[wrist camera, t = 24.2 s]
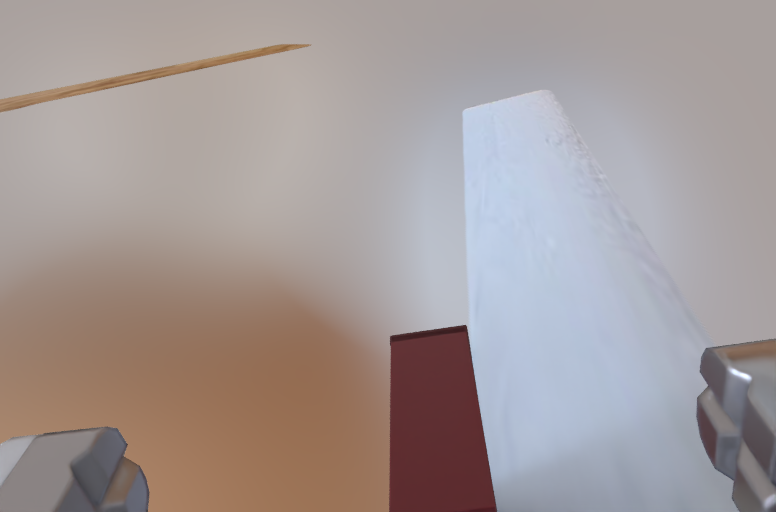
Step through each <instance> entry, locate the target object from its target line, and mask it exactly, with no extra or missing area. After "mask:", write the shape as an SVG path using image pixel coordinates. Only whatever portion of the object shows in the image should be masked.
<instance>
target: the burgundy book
mask: <svg viewBox="0 0 776 512" xmlns="http://www.w3.org/2000/svg"><path fill="white" fill-rule="evenodd" d="M390 346H391V389H390V390H391V392H390V398H391V399H390V498H389V500H390V501H389V506H390V507H389V510H390V511H389V512H497V509H496V502H495V497H494V491H493V485H492V479H491V473H490V467H489V461H488V455H487V449H486V443H485V437H484V431H483V425H482V419H481V413H480V407H479V402H478V395H477V389H476V382H475V376H474V369H473V363H472V356H471V350H470V343H469V337H468V330H467V326H466V325H463V326H456V327H448V328H441V329H434V330H427V331H420V332H413V333H407V334H400V335H393V336H391V337H390Z"/></svg>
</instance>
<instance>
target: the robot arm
mask: <svg viewBox="0 0 776 512" xmlns="http://www.w3.org/2000/svg"><path fill="white" fill-rule="evenodd" d="M700 373H701V375H702V376H703V378H704V380H705V381H706V383H707V384H708V387H707V388H706V389H705V390H704V391H703V392H702V393H701V394H700V395H699V396H698V397H697V416H696V417H697V422H698V427H699V433H700V437H701V440H702V443H703V445H704V448H705V450H706V453H707V455H708V457H709V458H710V460H711V462H712V464H713V466H714V468H715V469H716V470H718V471H719V472H721V473H723V474H724V475H726V476H727V477H729V478H731V479H732V480H734V485H733V493H732V500H733V501H734V503H735V505H736V507H737V508H738V510H739V512H776V339H769V340H762V341H755V342H747V343H741V344H733V345H726V346H718V347H711V348H706V349H705V351H704V353H703V355H702V357H701V365H700ZM127 445H128V444H127V443H126V441H125V440H124V438H123V437H122V435H121V433H120V432H119V430H118V429H117V428H111V427H99V428H89V429H80V430H70V431H61V432H52V433H44V434H42V435H30V436H20V437H13V438H11V439H9V440H7V441H5V442H3V443H2V444H0V512H148V503H149V489H148V485H147V480H146V477H145V475H144V473H143V471H142V469H141V468H140V466H139V465H137V464H136V463H134V462H132V461H131V460H129V459H127V458H126V457H124V454H125V451H126V448H127Z"/></svg>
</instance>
